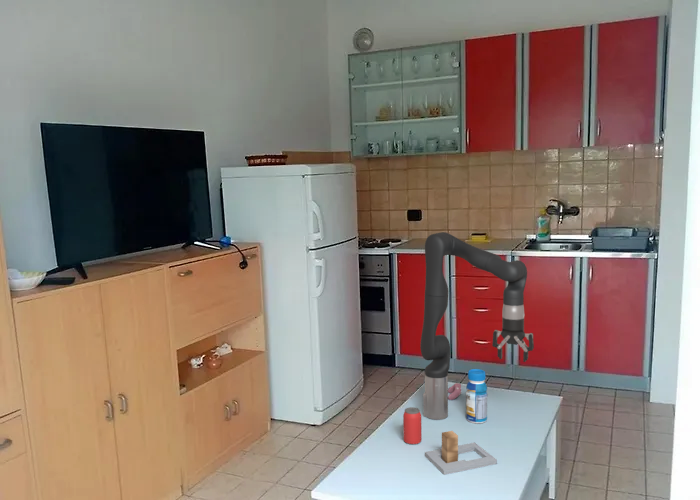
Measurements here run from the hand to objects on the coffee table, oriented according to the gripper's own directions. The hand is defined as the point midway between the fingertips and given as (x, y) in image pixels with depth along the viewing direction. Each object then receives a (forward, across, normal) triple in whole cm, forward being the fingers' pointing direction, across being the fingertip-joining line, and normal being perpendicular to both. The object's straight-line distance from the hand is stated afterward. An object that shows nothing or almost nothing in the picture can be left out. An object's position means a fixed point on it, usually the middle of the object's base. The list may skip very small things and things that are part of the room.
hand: (512, 359), depth 210 cm
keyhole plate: (+30, -13, -23) cm, 40 cm away
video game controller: (+30, -31, +33) cm, 55 cm away
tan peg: (+30, -16, -26) cm, 43 cm away
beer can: (+30, -33, -16) cm, 48 cm away
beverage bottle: (+30, -16, +12) cm, 36 cm away
